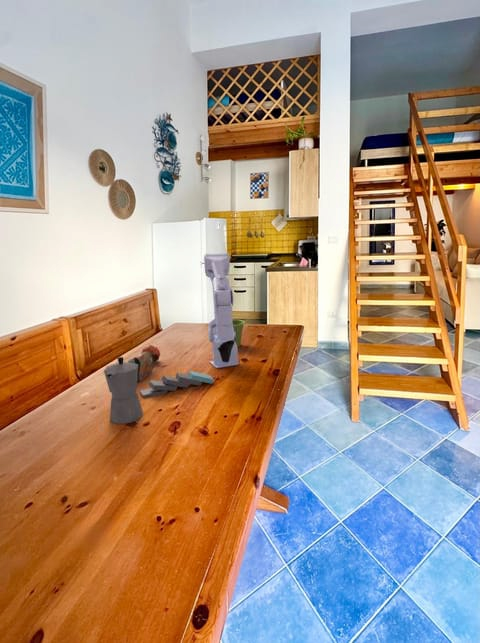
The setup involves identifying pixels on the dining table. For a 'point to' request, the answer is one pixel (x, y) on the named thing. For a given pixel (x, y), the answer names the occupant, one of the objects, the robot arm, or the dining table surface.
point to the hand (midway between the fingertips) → (225, 361)
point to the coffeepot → (124, 391)
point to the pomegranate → (153, 352)
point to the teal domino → (200, 377)
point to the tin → (145, 364)
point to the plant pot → (238, 331)
